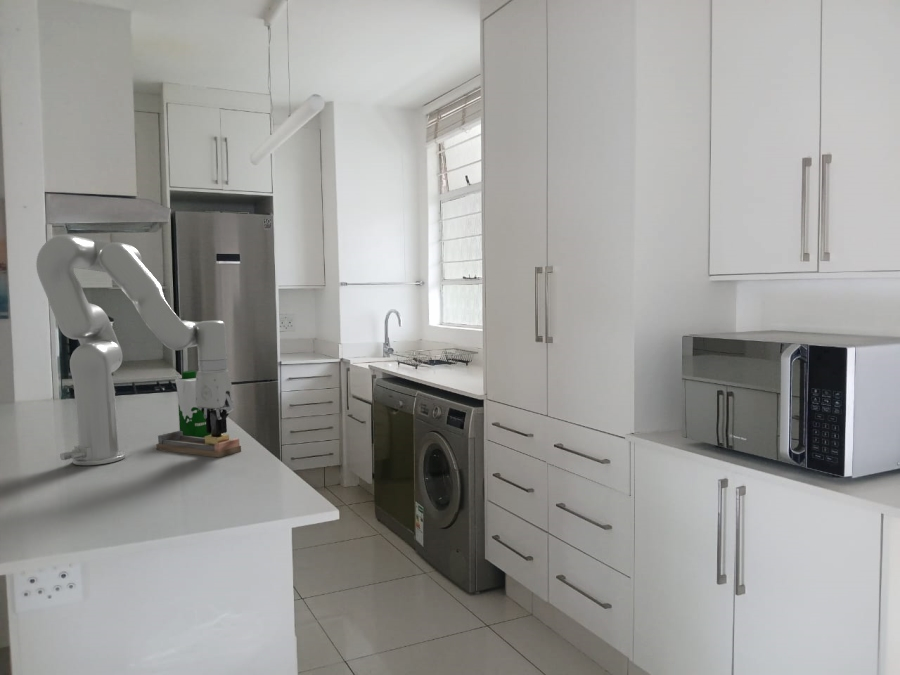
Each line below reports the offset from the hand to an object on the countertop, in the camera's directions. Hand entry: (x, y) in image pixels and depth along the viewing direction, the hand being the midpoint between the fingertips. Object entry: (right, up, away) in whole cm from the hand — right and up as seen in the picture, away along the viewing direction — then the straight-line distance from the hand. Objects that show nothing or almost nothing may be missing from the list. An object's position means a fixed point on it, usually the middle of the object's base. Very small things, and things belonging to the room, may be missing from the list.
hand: (216, 432), depth 190 cm
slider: (0, -4, 0) cm, 4 cm away
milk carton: (-14, -5, +24) cm, 28 cm away
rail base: (-7, -6, +4) cm, 10 cm away
